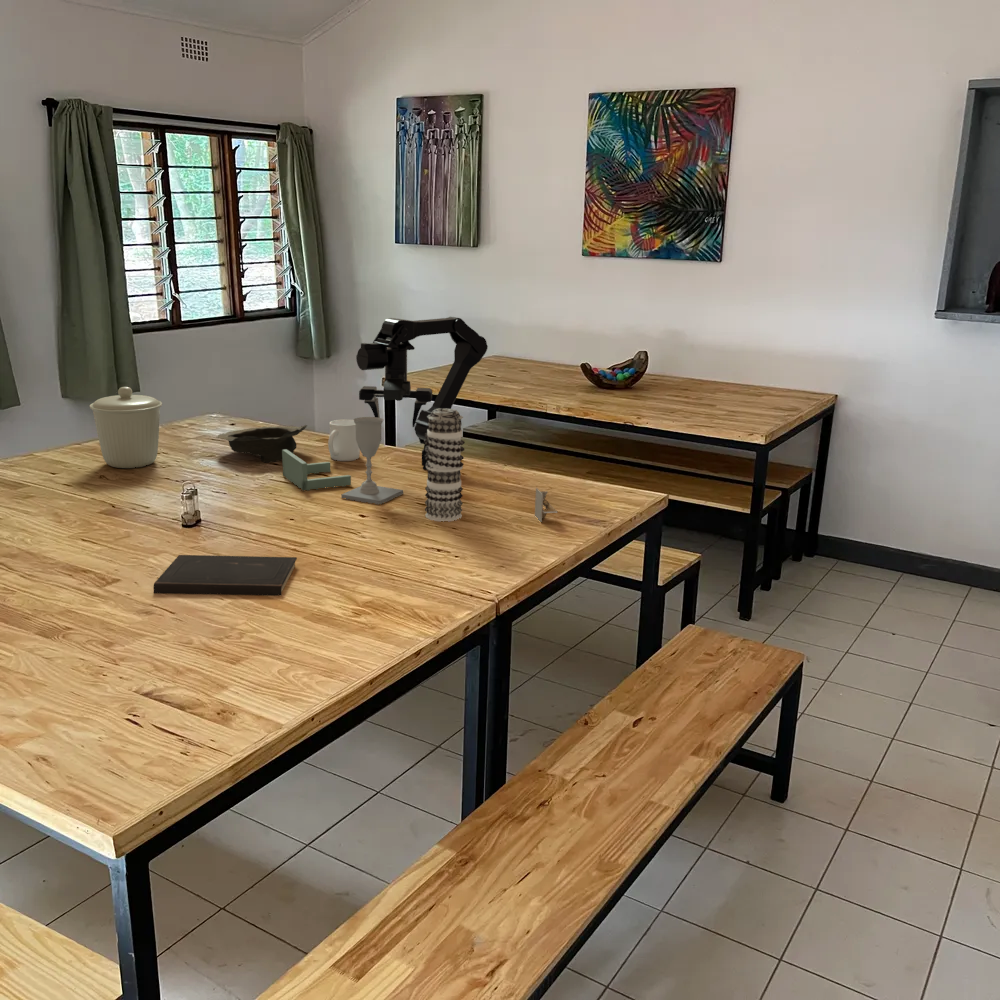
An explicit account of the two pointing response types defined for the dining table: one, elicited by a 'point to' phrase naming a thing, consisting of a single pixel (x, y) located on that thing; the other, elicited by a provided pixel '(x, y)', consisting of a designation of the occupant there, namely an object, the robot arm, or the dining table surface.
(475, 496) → the dining table surface
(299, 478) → the u-shaped frame
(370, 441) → the chalice
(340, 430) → the mug
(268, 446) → the stone bowl
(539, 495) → the grey angled bracket piece
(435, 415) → the decorative candle
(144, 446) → the canister
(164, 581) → the hardcover book
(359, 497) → the rubber mat
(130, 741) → the dining table surface
